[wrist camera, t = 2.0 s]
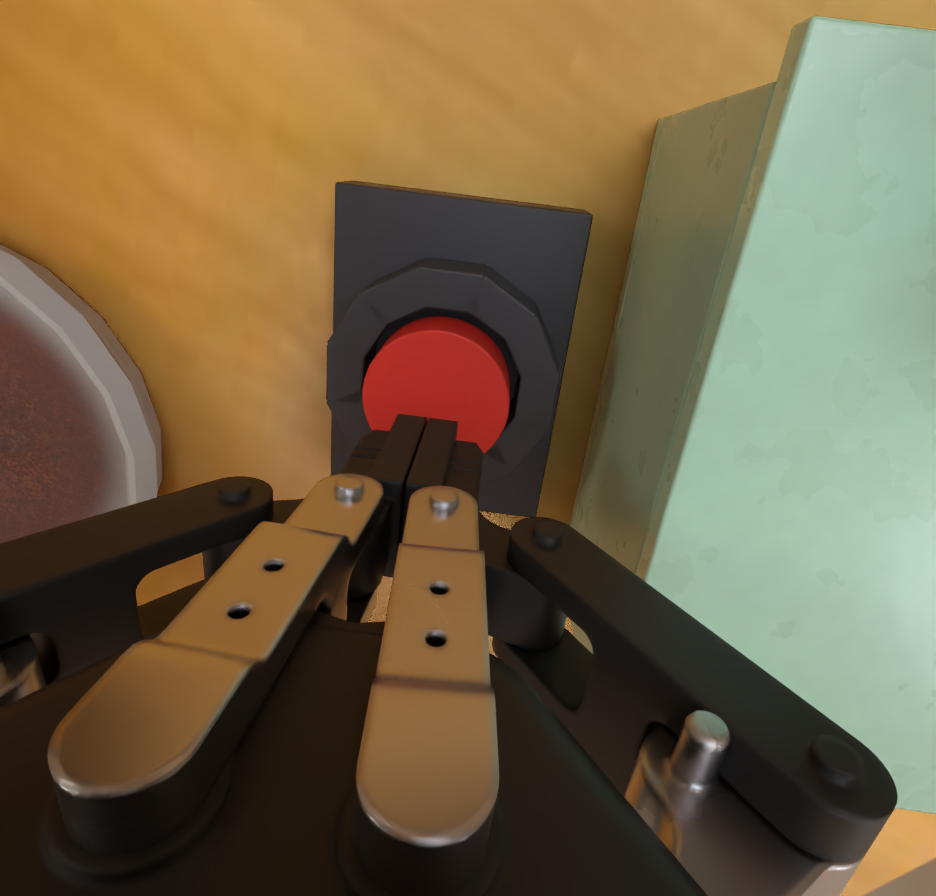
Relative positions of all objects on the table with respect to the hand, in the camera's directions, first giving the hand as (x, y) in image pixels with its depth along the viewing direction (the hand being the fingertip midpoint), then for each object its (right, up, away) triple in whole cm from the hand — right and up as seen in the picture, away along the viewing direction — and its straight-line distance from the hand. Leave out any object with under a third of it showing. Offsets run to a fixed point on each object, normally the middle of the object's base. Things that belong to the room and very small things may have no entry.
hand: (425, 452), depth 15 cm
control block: (0, +4, +8) cm, 8 cm away
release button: (0, +2, +4) cm, 5 cm away
